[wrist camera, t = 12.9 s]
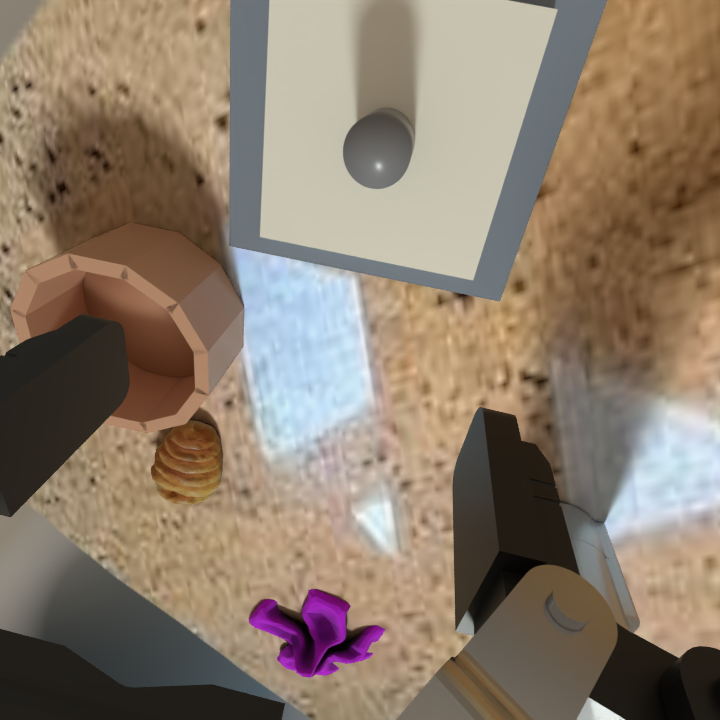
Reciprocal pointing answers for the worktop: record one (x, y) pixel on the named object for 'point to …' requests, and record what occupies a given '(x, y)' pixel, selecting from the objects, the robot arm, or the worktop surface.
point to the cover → (395, 124)
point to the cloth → (315, 634)
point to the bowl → (143, 316)
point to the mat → (521, 185)
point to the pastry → (188, 463)
